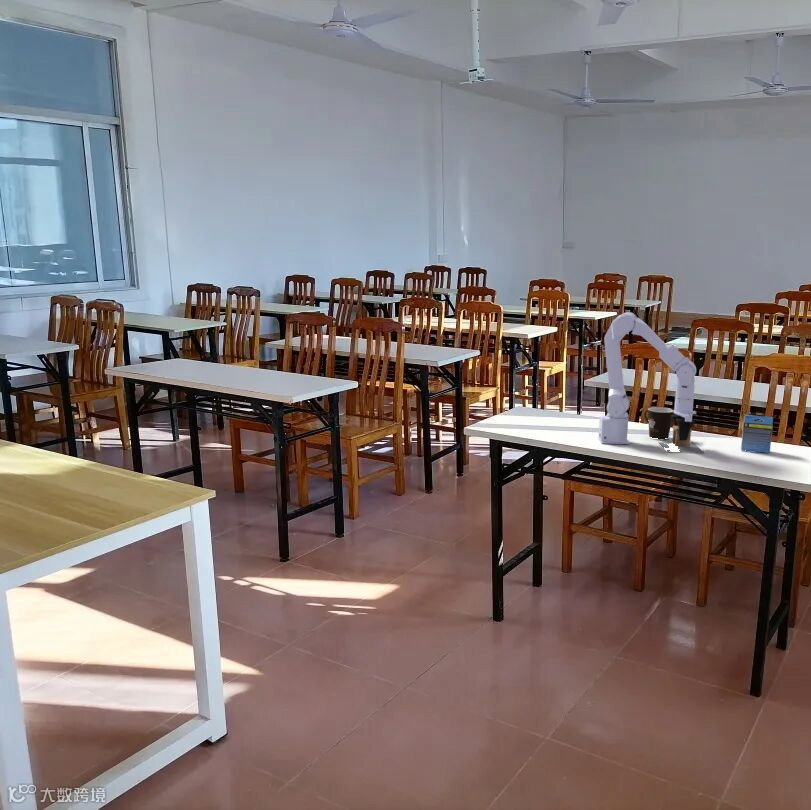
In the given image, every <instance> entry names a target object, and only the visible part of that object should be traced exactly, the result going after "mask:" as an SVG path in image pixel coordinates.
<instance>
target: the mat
mask: <svg viewBox="0 0 811 810" xmlns="http://www.w3.org/2000/svg"><path fill="white" fill-rule="evenodd" d="M658 443H659V444H660V445H661V446H662V447H663V448H664V447H665V448H669V446H668V445H667V444H664V443H667V442H661V441H659V442H657V444H658ZM659 444H658V445H659ZM660 445H659V446H660ZM661 446H660V447H661ZM662 447H661V448H662ZM663 448H662V449H663ZM678 449H680V450H679V451H680V452H696V453H695V454H705V452H704V451H703V449H701V448H700V446H699V445H697V444H695V443H694V442H690V446H678ZM667 451H670V450H667Z"/></svg>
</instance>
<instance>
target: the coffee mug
mask: <svg viewBox="0 0 811 810" xmlns="http://www.w3.org/2000/svg"><path fill="white" fill-rule="evenodd" d="M671 415H674V409H672V408H667V407H649V408H647V410H645V411H644V415H643V416H644V419H645V421H646V422H647V424H648V436H649V437H652V438H658V439H665V438H668V439H669V436H670V431H671V426H672V422H673V419H672V417H671Z"/></svg>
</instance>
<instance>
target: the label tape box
mask: <svg viewBox="0 0 811 810" xmlns="http://www.w3.org/2000/svg"><path fill="white" fill-rule="evenodd" d="M758 419H759V420H760V421H759V420H758ZM756 420H758V421H756ZM773 420H774V417H772V416H764V415H762V416H761V415H751V414H750V415H749V414H744V419H743V425H742V432H741V433H742V436H741V447H740V451H741V450H746V451H745V452H747V451H758V452H757V453H760V452H766V453H765V454H770V453H771V444H772V437H773V436H772V435H773V427H774V426H773Z"/></svg>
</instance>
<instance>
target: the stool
mask: <svg viewBox="0 0 811 810" xmlns="http://www.w3.org/2000/svg"><path fill="white" fill-rule="evenodd" d="M692 429H693V428H691V429H690V432H689V435H688V438H687V440H680V438H679V428H678V426H674V425H672V440H671V443H673V444H675V446H690V443H691V437H692V431H693V430H692Z"/></svg>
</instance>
